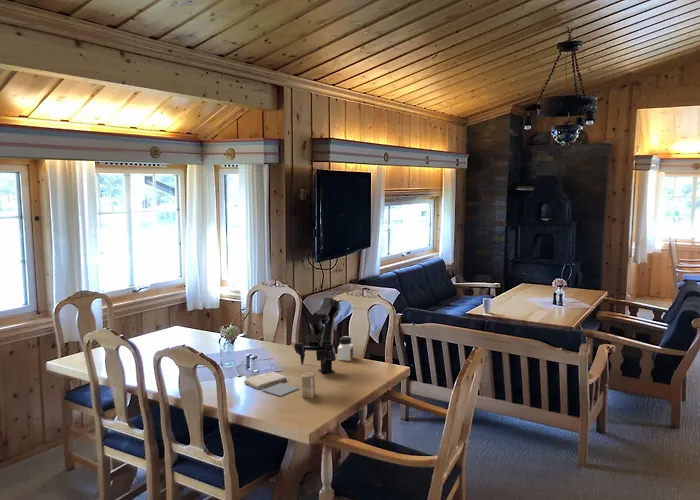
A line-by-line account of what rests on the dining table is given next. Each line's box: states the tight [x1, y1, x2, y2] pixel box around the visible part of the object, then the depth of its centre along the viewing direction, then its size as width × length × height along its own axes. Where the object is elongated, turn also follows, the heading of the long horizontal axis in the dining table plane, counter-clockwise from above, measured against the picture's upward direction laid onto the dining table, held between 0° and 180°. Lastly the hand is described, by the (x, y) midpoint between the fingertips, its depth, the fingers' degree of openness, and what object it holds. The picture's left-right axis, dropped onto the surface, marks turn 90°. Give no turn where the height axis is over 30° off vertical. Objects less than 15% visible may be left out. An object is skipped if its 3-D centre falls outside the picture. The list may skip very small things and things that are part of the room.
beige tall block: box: [300, 372, 316, 399], centre depth 267 cm, size 5×5×10 cm
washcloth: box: [243, 371, 288, 390], centre depth 286 cm, size 12×18×3 cm, turn 133°
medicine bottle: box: [337, 335, 354, 362], centre depth 320 cm, size 7×7×12 cm
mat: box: [261, 382, 300, 397], centre depth 274 cm, size 12×12×1 cm
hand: (311, 365), depth 272 cm, fingers open, 9 cm apart
